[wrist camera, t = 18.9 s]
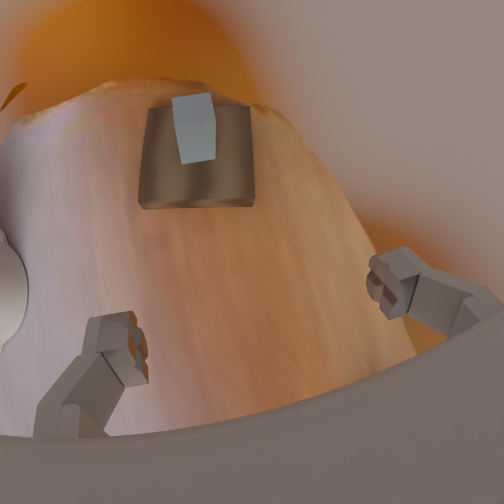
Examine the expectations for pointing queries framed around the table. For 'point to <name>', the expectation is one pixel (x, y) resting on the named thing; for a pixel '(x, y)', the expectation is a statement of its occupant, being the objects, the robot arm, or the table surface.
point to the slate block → (195, 127)
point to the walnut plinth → (197, 164)
